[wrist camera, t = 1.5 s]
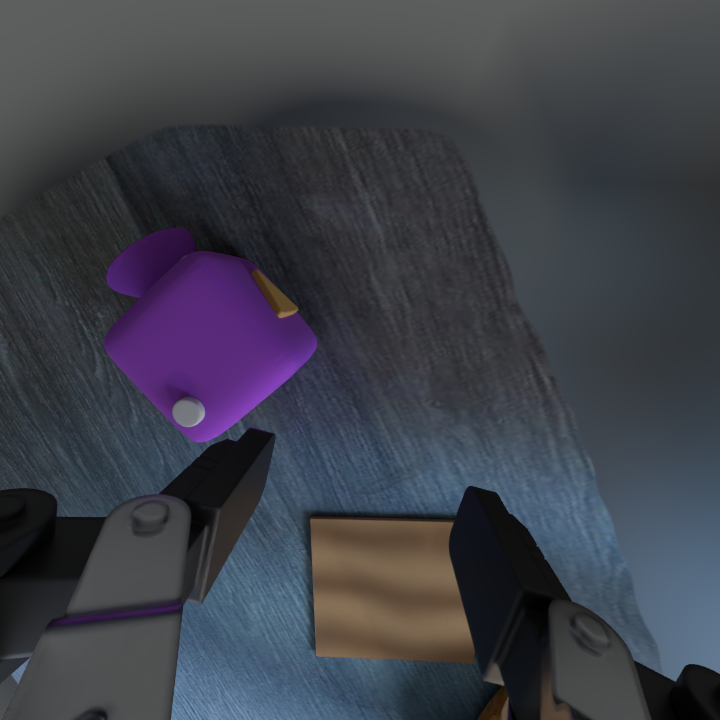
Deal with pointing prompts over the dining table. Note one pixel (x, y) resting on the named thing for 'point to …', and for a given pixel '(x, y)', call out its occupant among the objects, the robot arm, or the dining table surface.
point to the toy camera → (202, 332)
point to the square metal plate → (387, 590)
